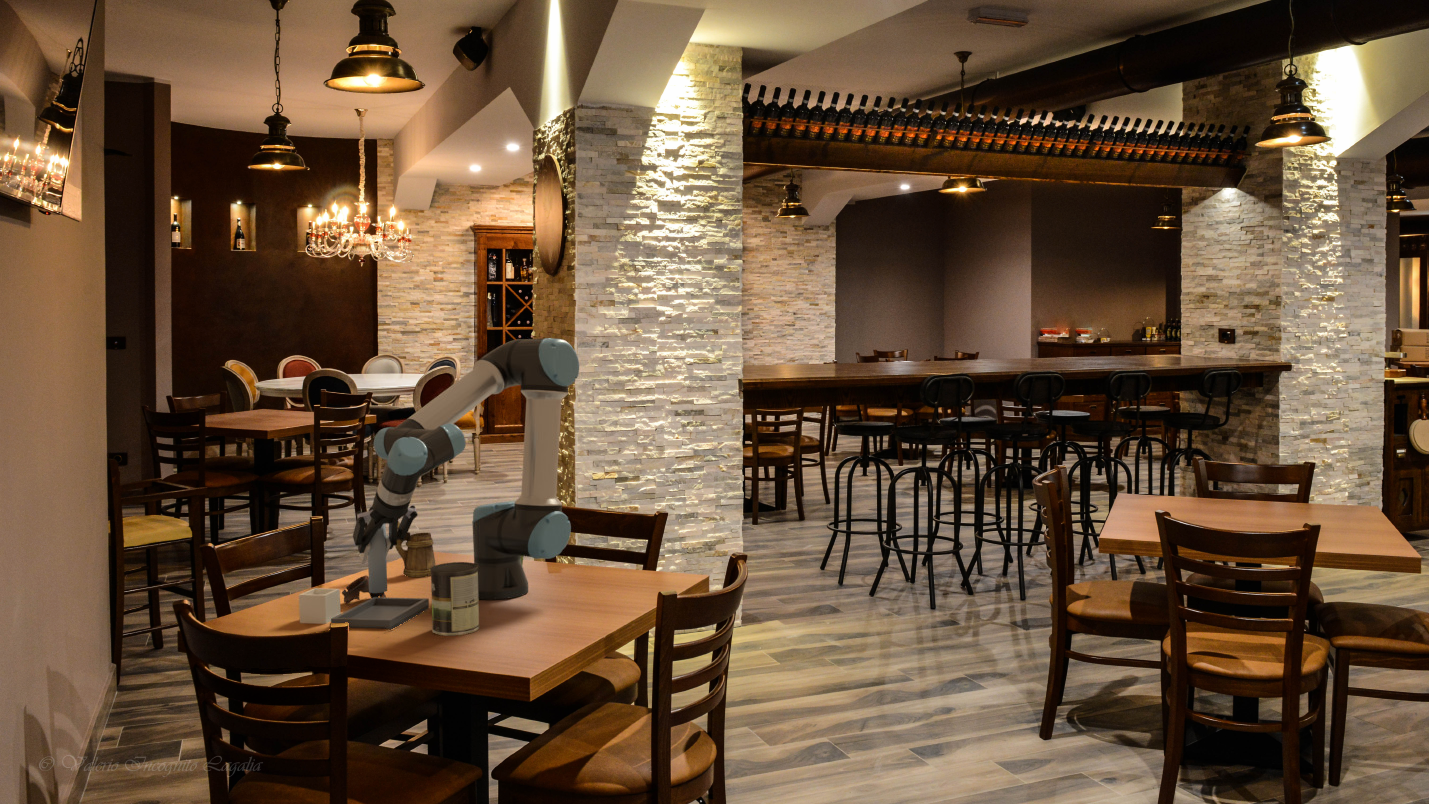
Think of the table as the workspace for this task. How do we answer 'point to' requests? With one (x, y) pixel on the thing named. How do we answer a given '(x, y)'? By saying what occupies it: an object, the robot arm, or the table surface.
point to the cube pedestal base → (319, 605)
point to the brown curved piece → (359, 589)
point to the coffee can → (454, 598)
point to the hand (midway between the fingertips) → (371, 557)
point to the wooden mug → (417, 554)
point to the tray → (382, 612)
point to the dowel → (377, 561)
